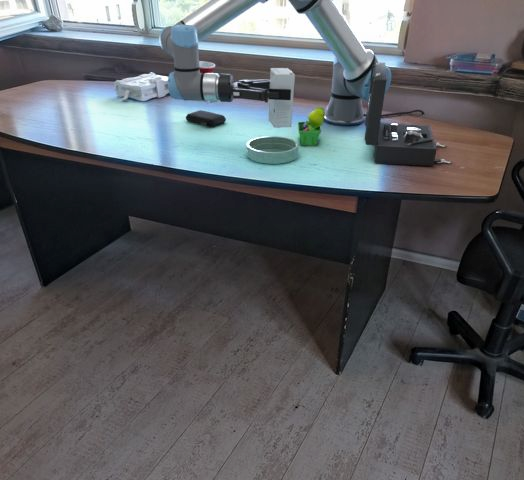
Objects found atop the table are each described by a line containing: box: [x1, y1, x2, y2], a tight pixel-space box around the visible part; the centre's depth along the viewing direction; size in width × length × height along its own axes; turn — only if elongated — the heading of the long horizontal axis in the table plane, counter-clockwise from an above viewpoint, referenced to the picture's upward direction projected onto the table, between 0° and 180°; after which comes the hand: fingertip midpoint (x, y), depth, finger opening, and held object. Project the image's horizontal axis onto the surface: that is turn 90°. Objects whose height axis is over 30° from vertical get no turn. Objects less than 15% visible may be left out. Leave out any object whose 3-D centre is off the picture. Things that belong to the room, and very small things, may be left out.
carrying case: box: [185, 110, 227, 128], centre depth 185 cm, size 11×3×15 cm
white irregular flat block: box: [113, 71, 170, 102], centre depth 217 cm, size 19×28×8 cm
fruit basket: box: [297, 106, 326, 147], centre depth 166 cm, size 11×9×11 cm
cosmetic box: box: [267, 67, 296, 129], centre depth 146 cm, size 8×6×15 cm
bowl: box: [246, 135, 299, 165], centre depth 157 cm, size 17×17×4 cm
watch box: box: [364, 61, 451, 167], centre depth 153 cm, size 26×28×24 cm
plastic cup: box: [199, 60, 216, 73], centre depth 220 cm, size 11×11×12 cm
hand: (292, 90), depth 144 cm, fingers closed on cosmetic box, 9 cm apart
